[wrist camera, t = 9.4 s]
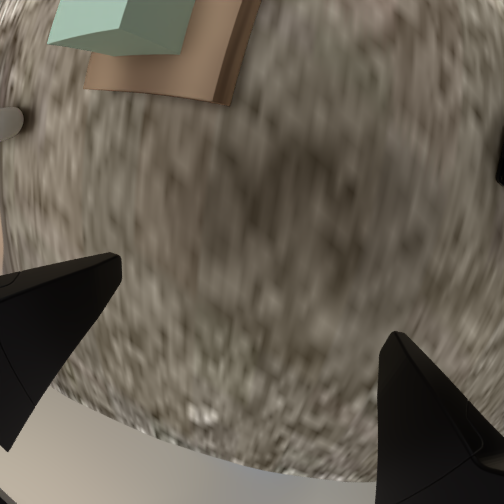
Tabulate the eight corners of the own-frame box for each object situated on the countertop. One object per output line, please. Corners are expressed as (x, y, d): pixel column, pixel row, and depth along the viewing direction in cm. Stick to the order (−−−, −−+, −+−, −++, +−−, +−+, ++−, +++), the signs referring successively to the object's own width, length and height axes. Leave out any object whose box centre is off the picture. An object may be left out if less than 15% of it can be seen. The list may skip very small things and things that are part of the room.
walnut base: (267, -13, 13) (257, -40, 10) (231, 106, 18) (212, 101, 14) (148, -14, 14) (121, -30, 10) (116, 91, 18) (83, 88, 15)
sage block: (199, -14, 11) (152, -59, 5) (179, 54, 13) (118, 28, 8) (132, -7, 11) (75, -34, 6) (114, 56, 13) (47, 44, 8)
